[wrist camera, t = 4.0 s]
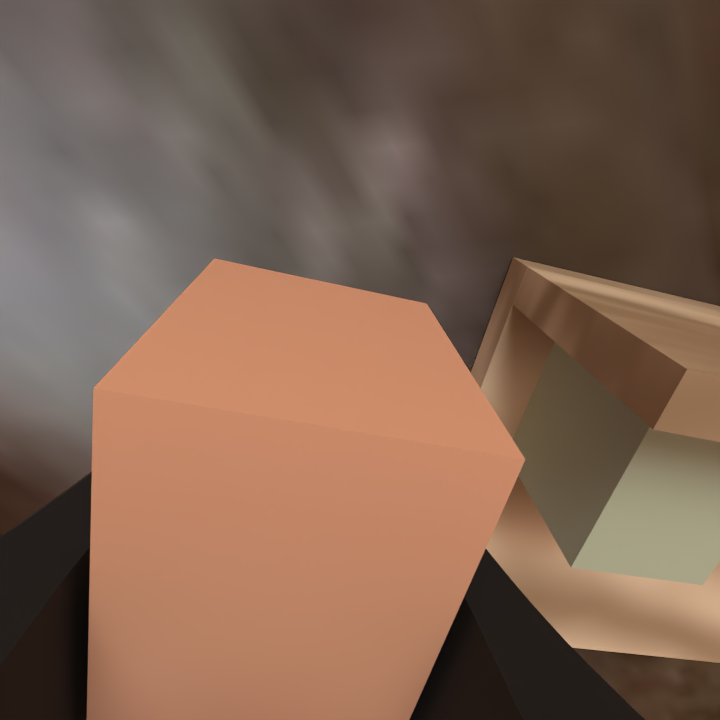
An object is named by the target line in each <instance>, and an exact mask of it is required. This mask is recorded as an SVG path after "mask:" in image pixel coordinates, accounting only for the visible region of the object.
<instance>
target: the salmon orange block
mask: <svg viewBox="0 0 720 720" xmlns="http://www.w3.org/2000/svg"><path fill="white" fill-rule="evenodd" d="M524 462H525V458H524V456H523V455H522V453H521V452H520V450H519V448H518V447H517V445H516V444H515V442H514V441H513V439H512V437H511V436H510V434H509V433H508V431H507V430H506V428H505V426H504V425H503V423H502V422H501V420H500V419H499V417H498V415H497V414H496V412H495V411H494V409H493V408H492V406H491V404H490V403H489V401H488V400H487V398H486V396H485V395H484V393H483V392H482V390H481V389H480V387H479V385H478V384H477V382H476V381H475V379H474V378H473V376H472V374H471V373H470V371H469V370H468V368H467V367H466V365H465V363H464V362H463V360H462V359H461V357H460V356H459V354H458V352H457V351H456V349H455V348H454V346H453V344H452V343H451V341H450V340H449V338H448V337H447V335H446V333H445V332H444V330H443V329H442V327H441V326H440V324H439V322H438V321H437V319H436V318H435V316H434V315H433V313H432V311H431V310H430V308H429V307H428V305H427V304H426V303H421V302H416V301H412V300H407V299H402V298H398V297H393V296H388V295H383V294H379V293H374V292H369V291H365V290H360V289H355V288H351V287H346V286H341V285H336V284H332V283H327V282H322V281H318V280H313V279H308V278H303V277H299V276H294V275H289V274H285V273H280V272H275V271H271V270H266V269H261V268H256V267H252V266H247V265H242V264H238V263H233V262H228V261H223V260H219V259H214V260H213V261H212V262H211V263H210V264H209V265H208V266H207V267H206V268H205V269H204V270H203V271H202V272H201V274H200V275H199V276H198V277H197V278H196V279H195V280H194V281H193V282H192V283H191V284H190V285H189V286H188V287H187V289H186V290H185V291H184V292H183V293H182V294H181V295H180V296H179V297H178V298H177V299H176V300H175V301H174V302H173V304H172V305H171V306H170V307H169V308H168V309H167V310H166V311H165V312H164V313H163V314H162V315H161V316H160V317H159V319H158V320H157V321H156V322H155V323H154V324H153V325H152V326H151V327H150V328H149V329H148V330H147V331H146V332H145V333H144V335H143V336H142V337H141V338H140V339H139V340H138V341H137V342H136V343H135V344H134V345H133V346H132V347H131V348H130V350H129V351H128V352H127V353H126V354H125V355H124V356H123V357H122V358H121V359H120V360H119V361H118V362H117V363H116V365H115V366H114V367H113V368H112V369H111V370H110V371H109V372H108V373H107V374H106V375H105V376H104V377H103V378H102V380H101V381H100V382H99V383H98V384H97V385H96V386H95V387H94V388H93V436H92V484H91V533H90V582H89V630H88V679H87V720H409V719H410V717H411V715H412V713H413V710H414V708H415V706H416V704H417V701H418V699H419V697H420V695H421V692H422V690H423V688H424V686H425V683H426V681H427V679H428V677H429V675H430V672H431V670H432V668H433V666H434V663H435V661H436V659H437V657H438V654H439V652H440V650H441V648H442V645H443V643H444V641H445V639H446V636H447V634H448V632H449V630H450V627H451V625H452V623H453V621H454V618H455V616H456V614H457V612H458V610H459V607H460V605H461V603H462V601H463V598H464V596H465V594H466V592H467V589H468V587H469V585H470V583H471V580H472V578H473V576H474V574H475V571H476V569H477V567H478V565H479V562H480V560H481V558H482V556H483V554H484V551H485V549H486V547H487V545H488V542H489V540H490V538H491V536H492V533H493V531H494V529H495V527H496V524H497V522H498V520H499V518H500V515H501V513H502V511H503V509H504V506H505V504H506V502H507V500H508V497H509V495H510V493H511V491H512V489H513V486H514V484H515V482H516V480H517V477H518V475H519V473H520V471H521V468H522V466H523V464H524Z"/></svg>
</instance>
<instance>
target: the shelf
mask: <svg viewBox="0 0 720 720" xmlns="http://www.w3.org/2000/svg"><path fill="white" fill-rule="evenodd" d="M554 342H555V343H557V344H558V345H559V346H560V347H561V348H562V349H563V350H564V351H566V352H567V353H568V354H569V355H570V356H571V357H572V358H573V359H575V360H576V361H577V362H578V363H579V364H580V365H581V366H582V367H583V368H585V369H586V370H587V371H588V372H589V373H590V374H591V375H592V376H594V377H595V378H596V379H597V380H598V381H599V382H600V383H601V384H602V385H604V386H605V387H606V388H607V389H608V390H609V391H610V392H611V393H613V394H614V395H615V396H616V397H617V398H618V399H619V400H620V401H622V402H623V403H624V404H625V405H626V406H627V407H628V408H629V409H630V410H632V411H633V412H634V413H635V414H636V415H637V416H638V417H639V418H641V419H642V420H643V421H644V422H645V423H646V424H647V425H648V426H649V427H651V428H652V429H653V430H658V431H663V432H668V433H674V434H679V435H685V436H690V437H695V438H701V439H706V440H711V441H717V442H720V306H716V305H712V304H708V303H704V302H699V301H695V300H691V299H687V298H683V297H678V296H674V295H670V294H666V293H661V292H657V291H653V290H649V289H645V288H640V287H636V286H632V285H628V284H623V283H619V282H615V281H611V280H607V279H602V278H598V277H594V276H590V275H585V274H581V273H577V272H573V271H569V270H564V269H560V268H556V267H552V266H547V265H543V264H539V263H535V262H531V261H526V260H522V259H518V258H514V257H513V259H512V261H511V264H510V267H509V269H508V272H507V275H506V278H505V280H504V283H503V286H502V289H501V291H500V294H499V297H498V299H497V302H496V305H495V308H494V310H493V313H492V316H491V318H490V321H489V324H488V327H487V329H486V332H485V335H484V338H483V340H482V343H481V346H480V348H479V351H478V354H477V357H476V359H475V362H474V365H473V368H472V370H471V374H472V376H473V378H474V379H475V381H476V382H477V384H478V385H479V387H480V389H481V390H482V392H483V393H484V395H485V396H486V398H487V400H488V401H489V403H490V404H491V406H492V408H493V409H494V411H495V412H496V414H497V415H498V417H499V419H500V420H501V422H502V423H503V425H504V426H505V428H506V430H507V431H508V433H509V434H510V436H511V437H512V439H513V437H514V435H515V432H516V430H517V428H518V426H519V423H520V421H521V419H522V416H523V414H524V412H525V409H526V407H527V405H528V402H529V400H530V398H531V396H532V393H533V391H534V389H535V386H536V384H537V382H538V379H539V377H540V375H541V372H542V370H543V368H544V365H545V363H546V361H547V359H548V356H549V354H550V352H551V349H552V347H553V345H554ZM486 549H487V550H488V552H489V553H490V554H491V555H492V557H493V558H494V559H495V560H496V562H497V563H498V564H499V565H500V566H501V568H502V569H503V570H504V571H505V573H506V574H507V575H508V576H509V577H510V579H511V580H512V581H513V582H514V583H515V584H516V586H517V587H518V588H519V589H520V590H521V591H522V593H523V594H524V595H525V596H526V597H527V598H528V600H529V601H530V602H531V603H532V604H533V605H534V606H535V608H536V609H537V610H538V611H539V612H540V613H541V614H542V615H543V616H544V618H545V619H546V620H547V621H548V622H549V623H550V624H551V625H552V626H553V628H554V629H555V630H556V631H557V632H558V633H559V634H560V635H561V636H562V637H563V639H564V640H565V641H566V642H567V643H568V644H569V645H570V646H571V647H572V648H582V649H592V650H601V651H611V652H621V653H630V654H640V655H650V656H659V657H669V658H679V659H688V660H698V661H707V662H717V663H720V562H719V563H718V565H717V566H716V567H715V569H714V570H713V572H712V573H711V574H710V576H709V577H708V578H707V580H706V581H705V583H704V584H703V585H698V584H690V583H683V582H675V581H668V580H660V579H652V578H645V577H637V576H630V575H622V574H615V573H607V572H599V571H592V570H584V569H577V568H571V567H570V565H569V564H568V562H567V560H566V558H565V557H564V555H563V553H562V551H561V550H560V548H559V546H558V544H557V542H556V541H555V539H554V537H553V535H552V534H551V532H550V530H549V528H548V527H547V525H546V523H545V521H544V520H543V518H542V516H541V514H540V513H539V511H538V509H537V507H536V506H535V504H534V502H533V500H532V499H531V497H530V495H529V493H528V492H527V490H526V488H525V486H524V485H523V483H522V481H521V479H520V478H519V476H518V477H517V480H516V482H515V484H514V486H513V489H512V491H511V493H510V495H509V497H508V500H507V502H506V504H505V506H504V509H503V511H502V513H501V515H500V518H499V520H498V522H497V524H496V527H495V529H494V531H493V533H492V536H491V538H490V540H489V542H488V545H487V547H486Z"/></svg>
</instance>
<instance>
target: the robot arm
mask: <svg viewBox="0 0 720 720" xmlns="http://www.w3.org/2000/svg"><path fill="white" fill-rule="evenodd" d="M91 484H92V472H90V473H89V474H88V475H86V476H85V477H84V478H82V479H81V480H80V481H78V482H77V483H76V484H74V485H73V486H72V487H70V488H69V489H68V490H66V491H65V492H63V493H62V494H61V495H59V496H58V497H56V498H55V499H54V500H52V501H51V502H49V503H48V504H46V505H45V506H44V507H42V508H41V509H39V510H38V511H37V512H35V513H34V514H32V515H31V516H30V517H28V518H27V519H25V520H24V521H22V522H21V523H20V524H18V525H17V526H15V527H14V528H12V529H11V530H9V531H8V532H6V533H4V534H3V535H1V536H0V720H87V679H88V630H89V582H90V533H91ZM409 720H645V719H644V718H643V717H642V716H641V715H639V714H638V713H637V712H636V711H635V710H634V709H633V708H632V707H631V706H630V705H629V704H628V703H627V702H626V701H625V700H624V699H623V698H622V697H621V696H620V695H619V694H618V693H617V692H616V691H615V690H614V689H613V688H612V687H611V686H610V685H609V684H608V683H607V682H606V681H605V680H604V679H603V678H601V677H600V676H599V675H598V674H597V673H596V672H595V671H594V670H593V669H592V668H591V667H590V666H589V665H588V664H587V663H586V662H585V661H584V660H583V659H582V658H581V656H580V655H579V654H578V653H577V652H576V651H575V650H574V649H573V648H572V647H571V646H570V645H569V644H568V643H567V642H566V641H565V640H564V639H563V637H562V636H561V635H560V634H559V633H558V632H557V631H556V630H555V629H554V628H553V626H552V625H551V624H550V623H549V622H548V621H547V620H546V619H545V618H544V616H543V615H542V614H541V613H540V612H539V611H538V610H537V609H536V608H535V606H534V605H533V604H532V603H531V602H530V601H529V600H528V598H527V597H526V596H525V595H524V594H523V593H522V591H521V590H520V589H519V588H518V587H517V586H516V584H515V583H514V582H513V581H512V580H511V579H510V577H509V576H508V575H507V574H506V573H505V571H504V570H503V569H502V568H501V566H500V565H499V564H498V563H497V562H496V560H495V559H494V558H493V557H492V555H491V554H490V553H489V552H488V550H487V549H485V551H484V554H483V556H482V558H481V560H480V562H479V565H478V567H477V569H476V571H475V574H474V576H473V578H472V580H471V583H470V585H469V587H468V589H467V592H466V594H465V596H464V598H463V601H462V603H461V605H460V607H459V610H458V612H457V614H456V616H455V618H454V621H453V623H452V625H451V627H450V630H449V632H448V634H447V636H446V639H445V641H444V643H443V645H442V648H441V650H440V652H439V654H438V657H437V659H436V661H435V663H434V666H433V668H432V670H431V672H430V675H429V677H428V679H427V681H426V683H425V686H424V688H423V690H422V692H421V695H420V697H419V699H418V701H417V704H416V706H415V708H414V710H413V713H412V715H411V717H410V719H409Z"/></svg>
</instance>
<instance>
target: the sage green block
mask: <svg viewBox="0 0 720 720" xmlns="http://www.w3.org/2000/svg"><path fill="white" fill-rule="evenodd" d="M513 441H514V442H515V444H516V445H517V447H518V448H519V450H520V452H521V453H522V455H523V456H524V458H525V462H524V464H523V466H522V468H521V471H520V473H519V475H518V476H519V478H520V479H521V481H522V483H523V485H524V486H525V488H526V490H527V492H528V493H529V495H530V497H531V499H532V500H533V502H534V504H535V506H536V507H537V509H538V511H539V513H540V514H541V516H542V518H543V520H544V521H545V523H546V525H547V527H548V528H549V530H550V532H551V534H552V535H553V537H554V539H555V541H556V542H557V544H558V546H559V548H560V550H561V551H562V553H563V555H564V557H565V558H566V560H567V562H568V564H569V565H570V567H571V568H577V569H584V570H592V571H599V572H607V573H615V574H622V575H630V576H637V577H645V578H652V579H660V580H668V581H675V582H683V583H690V584H698V585H703V584H704V583H705V581H706V580H707V578H708V577H709V576H710V574H711V573H712V572H713V570H714V569H715V567H716V566H717V565H718V563H719V562H720V442H717V441H711V440H706V439H701V438H695V437H690V436H685V435H679V434H674V433H668V432H663V431H658V430H653V429H652V428H651V427H649V426H648V425H647V424H646V423H645V422H644V421H643V420H642V419H641V418H639V417H638V416H637V415H636V414H635V413H634V412H633V411H632V410H630V409H629V408H628V407H627V406H626V405H625V404H624V403H623V402H622V401H620V400H619V399H618V398H617V397H616V396H615V395H614V394H613V393H611V392H610V391H609V390H608V389H607V388H606V387H605V386H604V385H602V384H601V383H600V382H599V381H598V380H597V379H596V378H595V377H594V376H592V375H591V374H590V373H589V372H588V371H587V370H586V369H585V368H583V367H582V366H581V365H580V364H579V363H578V362H577V361H576V360H575V359H573V358H572V357H571V356H570V355H569V354H568V353H567V352H566V351H564V350H563V349H562V348H561V347H560V346H559V345H558V344H557V343H555V342H554V345H553V347H552V349H551V352H550V354H549V356H548V359H547V361H546V363H545V365H544V368H543V370H542V372H541V375H540V377H539V379H538V382H537V384H536V386H535V389H534V391H533V393H532V396H531V398H530V400H529V402H528V405H527V407H526V409H525V412H524V414H523V416H522V419H521V421H520V423H519V426H518V428H517V430H516V432H515V435H514V437H513Z"/></svg>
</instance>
